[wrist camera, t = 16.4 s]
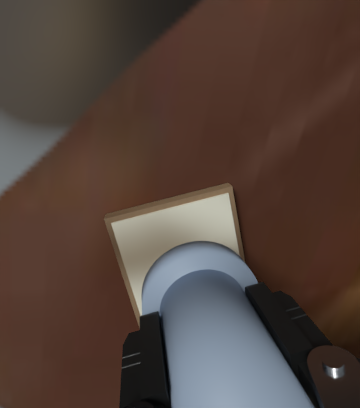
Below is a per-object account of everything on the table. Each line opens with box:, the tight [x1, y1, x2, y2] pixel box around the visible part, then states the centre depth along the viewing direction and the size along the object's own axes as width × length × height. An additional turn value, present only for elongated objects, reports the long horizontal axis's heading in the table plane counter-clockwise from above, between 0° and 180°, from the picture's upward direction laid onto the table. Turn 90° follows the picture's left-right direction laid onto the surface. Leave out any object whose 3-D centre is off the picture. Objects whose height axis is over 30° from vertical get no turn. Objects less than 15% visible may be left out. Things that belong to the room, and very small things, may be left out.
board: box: [104, 183, 245, 328], centre depth 19 cm, size 21×7×1 cm, turn 13°
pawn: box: [141, 241, 315, 408], centre depth 9 cm, size 5×5×10 cm
